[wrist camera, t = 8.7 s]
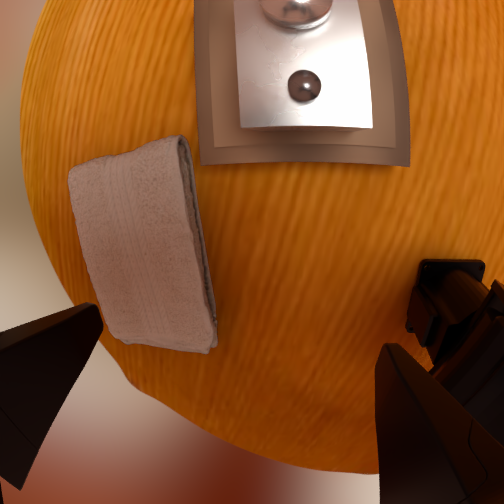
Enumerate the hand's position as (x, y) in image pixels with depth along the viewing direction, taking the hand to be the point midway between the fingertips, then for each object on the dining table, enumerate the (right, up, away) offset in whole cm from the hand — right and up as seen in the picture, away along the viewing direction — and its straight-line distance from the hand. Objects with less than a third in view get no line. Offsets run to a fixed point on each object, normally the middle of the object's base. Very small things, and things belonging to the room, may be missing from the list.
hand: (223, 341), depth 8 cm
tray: (+4, +14, +7) cm, 16 cm away
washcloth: (-8, +2, +15) cm, 18 cm away
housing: (+3, +13, +4) cm, 14 cm away
